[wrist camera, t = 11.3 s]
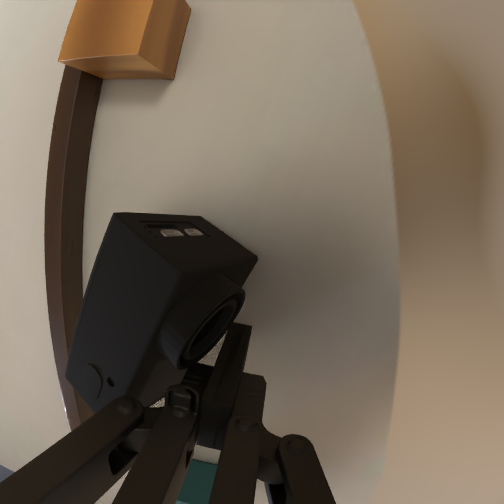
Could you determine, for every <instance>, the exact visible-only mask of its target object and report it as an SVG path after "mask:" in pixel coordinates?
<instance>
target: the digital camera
mask: <svg viewBox="0 0 504 504" xmlns="http://www.w3.org/2000/svg"><path fill="white" fill-rule="evenodd" d="M257 261H258V257H257V256H256V255H255V254H253V253H252V252H250V251H249V250H248V249H246V248H245V247H243V246H242V245H241V244H239V243H238V242H236V241H235V240H233V239H232V238H231V237H229V236H228V235H226V234H225V233H224V232H222V231H221V230H219V229H218V228H217V227H215V226H214V225H212V224H211V223H210V222H208V221H207V220H205V219H204V218H202V217H201V216H186V215H169V214H150V213H129V212H122V213H113V215H112V218H111V220H110V223H109V225H108V228H107V230H106V233H105V236H104V238H103V241H102V244H101V246H100V249H99V252H98V255H97V257H96V260H95V263H94V266H93V269H92V272H91V275H90V279H89V282H88V285H87V288H86V291H85V295H84V298H83V302H82V305H81V308H80V312H79V316H78V319H77V323H76V327H75V331H74V335H73V339H72V343H71V348H70V352H69V357H68V361H67V366H66V371H65V378H66V379H67V380H68V382H69V383H70V384H71V385H72V387H73V388H74V389H75V390H76V391H77V393H78V394H79V395H80V396H81V398H82V399H83V400H84V401H85V402H86V403H87V405H88V406H89V407H90V408H91V409H92V410H93V411H94V413H97V412H98V411H99V410H101V409H102V408H103V407H105V406H106V405H107V404H108V403H110V402H111V401H112V400H114V399H116V398H118V397H122V396H130V397H133V398H136V399H138V400H139V401H140V402H141V403H142V405H143V407H150V406H152V405H153V404H155V403H156V402H158V401H159V400H161V399H162V398H164V397H165V390H166V389H167V388H168V387H170V386H172V385H177V384H181V382H182V380H183V378H184V376H185V374H186V372H187V370H188V368H189V367H190V366H191V365H193V364H194V363H196V362H198V361H199V360H200V359H201V358H203V357H204V356H205V355H206V354H207V353H208V352H209V351H210V350H211V349H212V348H213V347H214V346H215V345H216V344H217V342H218V341H219V340H220V339H221V338H222V337H223V335H224V334H225V333H226V331H227V330H228V329H229V327H230V326H231V324H232V323H233V321H234V320H235V319H236V317H237V315H238V313H239V311H240V309H241V307H242V305H243V303H244V300H245V290H243V289H242V286H243V284H244V282H245V281H246V279H247V277H248V276H249V274H250V272H251V271H252V269H253V267H254V266H255V264H256V262H257Z"/></svg>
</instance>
